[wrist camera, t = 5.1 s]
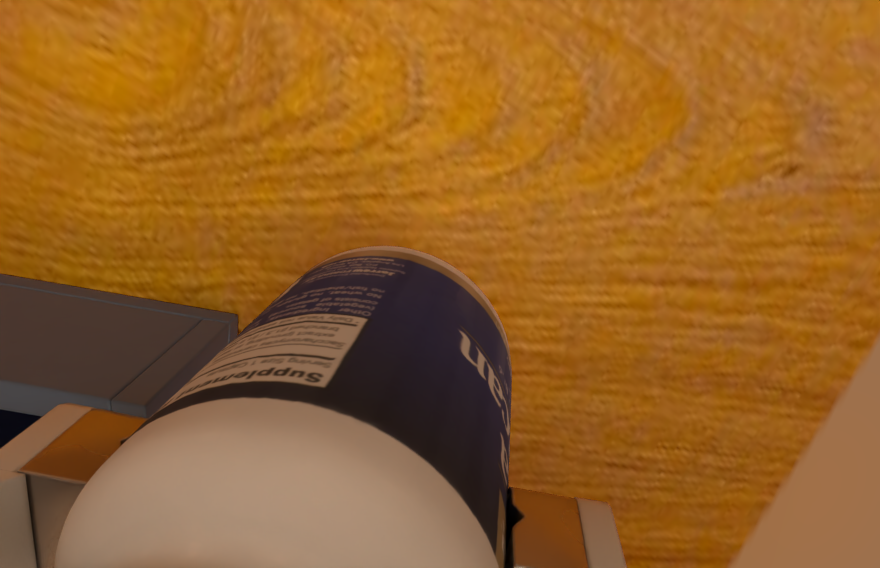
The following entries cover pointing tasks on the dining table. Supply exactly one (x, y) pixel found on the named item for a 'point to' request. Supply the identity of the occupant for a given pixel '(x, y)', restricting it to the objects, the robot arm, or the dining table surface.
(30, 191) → the dining table surface
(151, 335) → the blue bin
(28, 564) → the robot arm
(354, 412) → the pill bottle
